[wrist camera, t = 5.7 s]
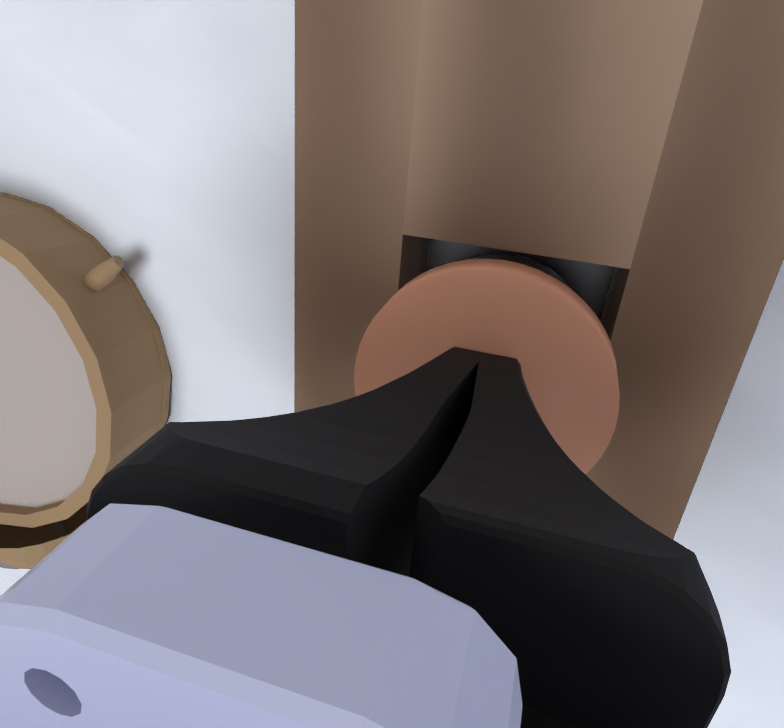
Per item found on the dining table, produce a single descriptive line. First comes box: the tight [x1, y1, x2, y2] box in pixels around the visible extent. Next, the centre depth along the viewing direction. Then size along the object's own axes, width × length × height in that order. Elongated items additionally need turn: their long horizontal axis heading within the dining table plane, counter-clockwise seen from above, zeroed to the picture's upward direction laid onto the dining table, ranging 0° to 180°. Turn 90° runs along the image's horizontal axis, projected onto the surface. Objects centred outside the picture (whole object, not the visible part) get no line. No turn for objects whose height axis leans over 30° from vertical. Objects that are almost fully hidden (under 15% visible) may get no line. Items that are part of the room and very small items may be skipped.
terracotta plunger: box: [354, 254, 620, 474], centre depth 13 cm, size 5×5×4 cm
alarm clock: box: [0, 193, 171, 569], centre depth 21 cm, size 11×5×15 cm
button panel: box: [295, 0, 784, 540], centre depth 12 cm, size 10×22×3 cm, turn 176°
